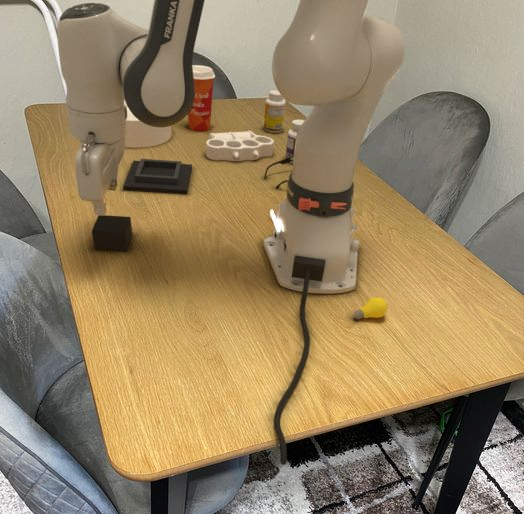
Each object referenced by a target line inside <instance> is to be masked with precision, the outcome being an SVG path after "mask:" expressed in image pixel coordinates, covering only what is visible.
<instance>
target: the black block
mask: <svg viewBox="0 0 524 514" xmlns="http://www.w3.org/2000/svg"><path fill="white" fill-rule="evenodd" d="M91 235H92V242H93V249H94V250H95V251H111V252H125V253H126V252H128V251H129V247H130V244H131V241H132V239H133V228H132V217H131V216H122V215H109V214H108V215H106V214H105V215H104V216H99V215H97V217H96V220H95V222H94V224H93V226H92V229H91Z"/></svg>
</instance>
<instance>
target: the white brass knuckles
mask: <svg viewBox="0 0 524 514" xmlns="http://www.w3.org/2000/svg"><path fill="white" fill-rule="evenodd" d="M274 143H275V141H274V139H273V138H272V137H269V136H266V135H259V134H255V133H254V132H253V131H252V130H246V131H229V132H215V133H214V132H210V133H208V140H207V141H206V142H205V156H206V158H207V159H209V160H211V161H215V162H219V161H229V162H237V163H239V162H240V163H241V162H243V161H250V162H251V161H256V160H259V159H260V158H269V157H272V156H273V154H274Z"/></svg>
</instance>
